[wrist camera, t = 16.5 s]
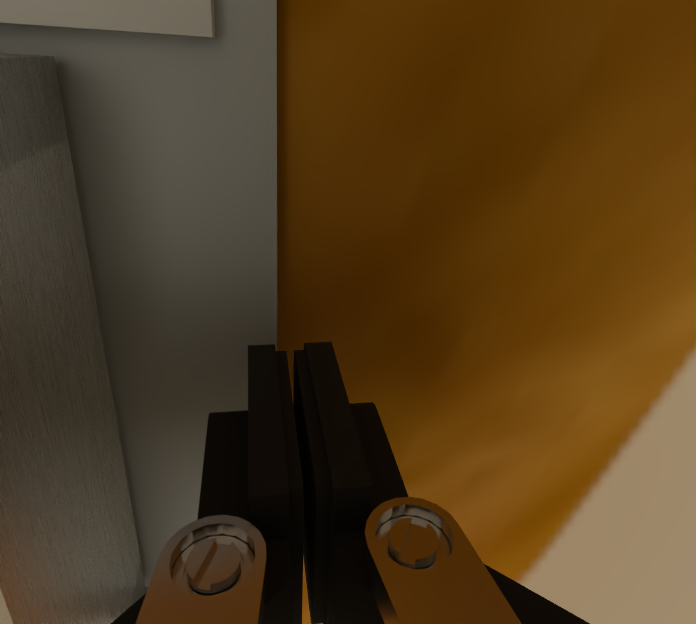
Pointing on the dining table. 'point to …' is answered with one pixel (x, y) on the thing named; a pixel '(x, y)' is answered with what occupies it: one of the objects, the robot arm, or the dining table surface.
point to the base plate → (169, 215)
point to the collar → (54, 382)
